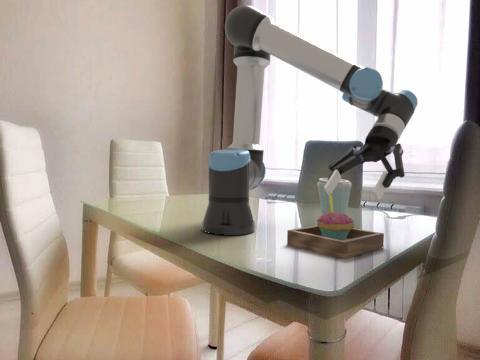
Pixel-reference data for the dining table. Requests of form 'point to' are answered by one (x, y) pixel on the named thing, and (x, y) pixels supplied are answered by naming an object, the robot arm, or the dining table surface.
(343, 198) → the disposable coffee cup
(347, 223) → the cupcake
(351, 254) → the wooden tray
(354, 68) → the robot arm
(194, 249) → the dining table surface
